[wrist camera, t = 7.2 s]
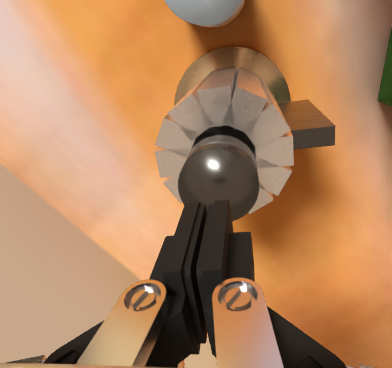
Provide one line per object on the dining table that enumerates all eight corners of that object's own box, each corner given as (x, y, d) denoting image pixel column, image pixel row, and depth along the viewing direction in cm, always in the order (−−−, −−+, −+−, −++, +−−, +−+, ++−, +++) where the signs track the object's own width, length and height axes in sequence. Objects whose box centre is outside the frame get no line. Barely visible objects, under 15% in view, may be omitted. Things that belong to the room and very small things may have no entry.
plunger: (249, 89, 32) (256, 144, 16) (252, 130, 34) (262, 220, 17) (207, 95, 33) (171, 153, 16) (212, 135, 35) (185, 225, 18)
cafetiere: (299, 34, 32) (348, 32, 17) (301, 153, 37) (341, 232, 22) (166, 56, 35) (107, 71, 20) (185, 165, 40) (151, 242, 25)
